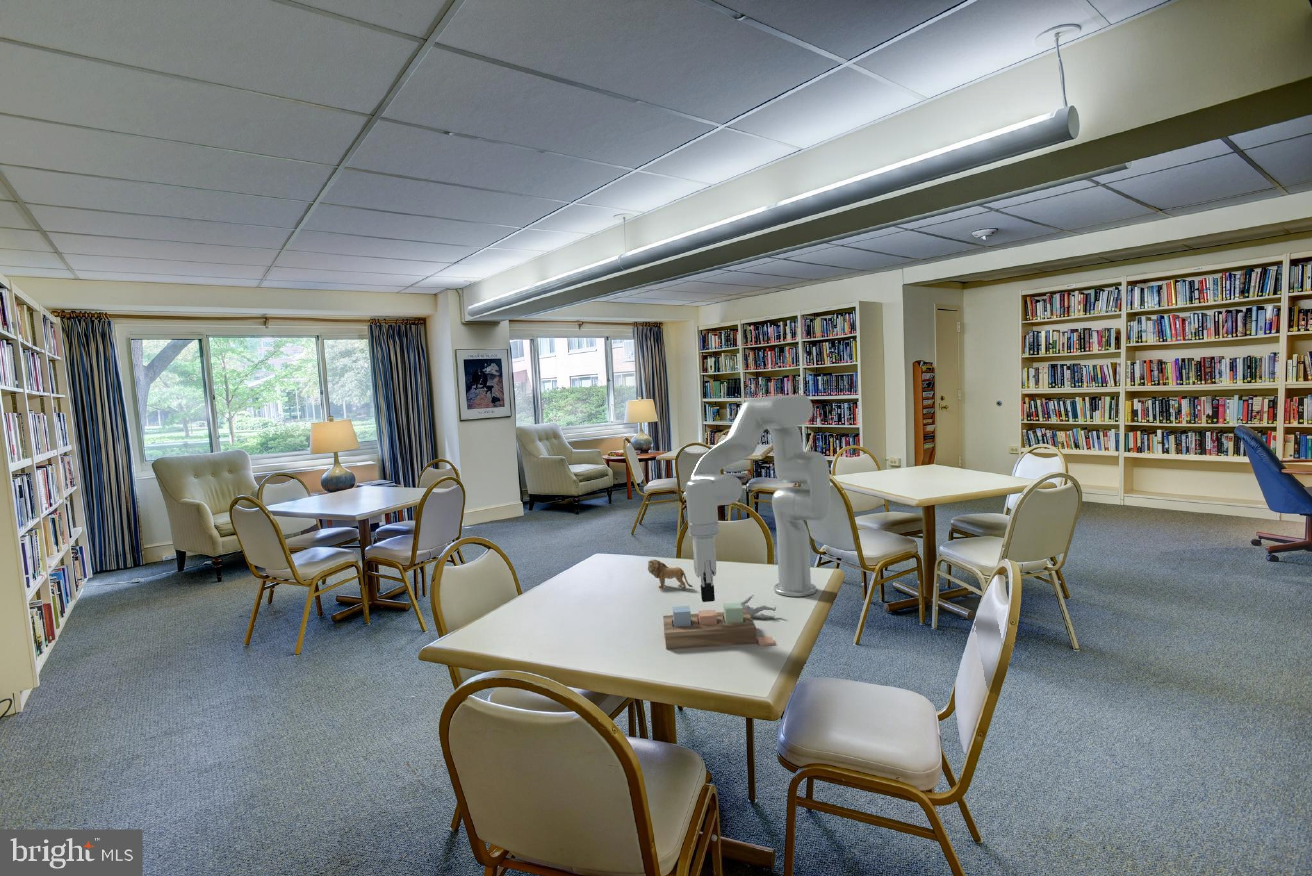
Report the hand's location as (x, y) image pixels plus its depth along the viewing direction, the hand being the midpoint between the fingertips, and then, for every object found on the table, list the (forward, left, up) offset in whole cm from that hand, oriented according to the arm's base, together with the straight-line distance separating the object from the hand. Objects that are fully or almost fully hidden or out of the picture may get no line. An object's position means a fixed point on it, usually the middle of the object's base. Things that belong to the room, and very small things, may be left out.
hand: (708, 600), depth 157 cm
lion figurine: (-43, -8, -9) cm, 45 cm away
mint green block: (0, +6, -7) cm, 9 cm away
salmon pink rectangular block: (0, 0, -9) cm, 9 cm away
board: (0, 0, -9) cm, 9 cm away
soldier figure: (-11, +13, -9) cm, 20 cm away
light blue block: (0, -7, -7) cm, 10 cm away
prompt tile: (+6, +13, -9) cm, 17 cm away
